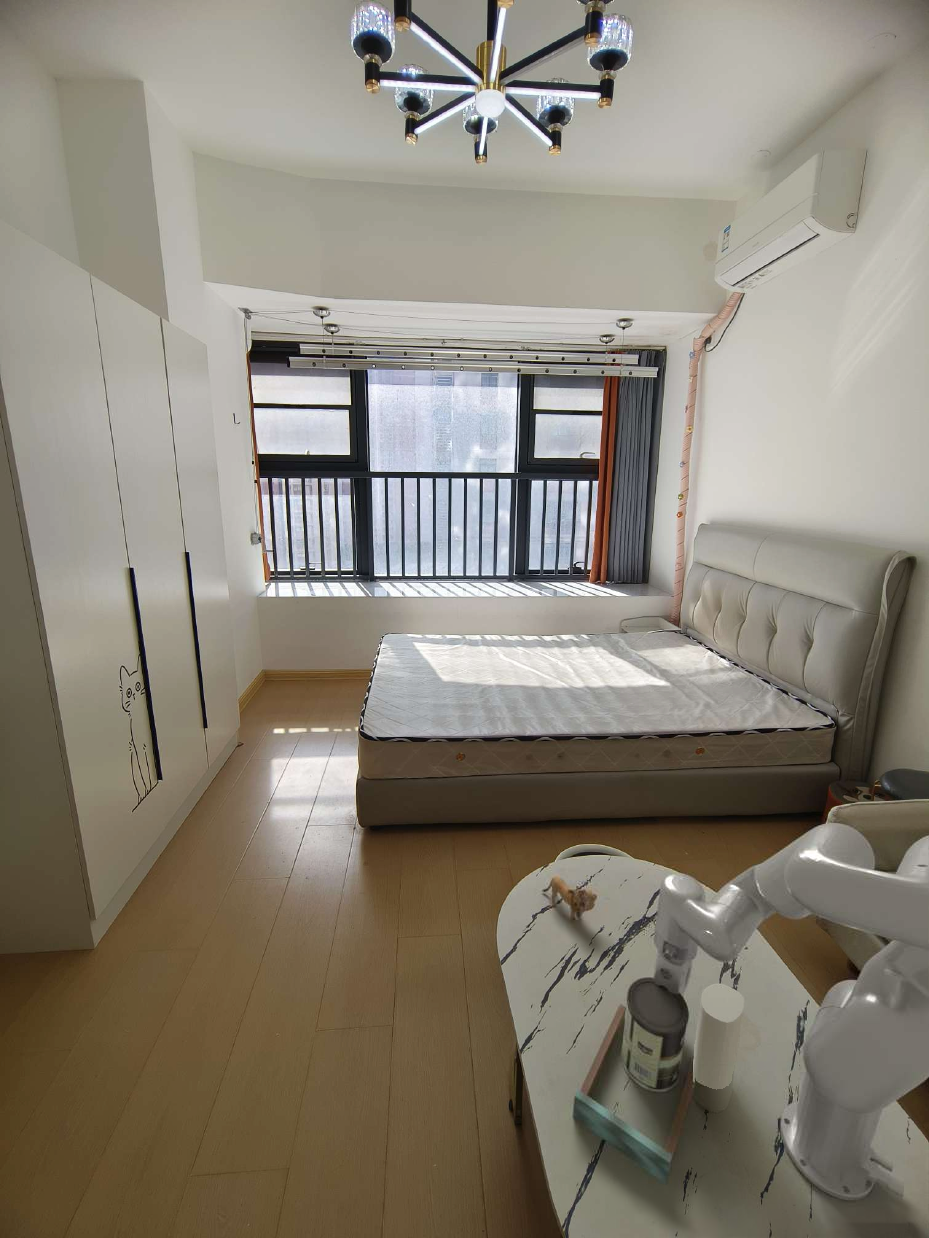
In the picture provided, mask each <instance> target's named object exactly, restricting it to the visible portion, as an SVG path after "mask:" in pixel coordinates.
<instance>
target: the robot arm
mask: <svg viewBox="0 0 929 1238" xmlns="http://www.w3.org/2000/svg"><path fill="white" fill-rule="evenodd" d="M875 865H876V859H875V854H874V850H873V847H872V845H871V844H870V843H869V841H868V840H867V838H866V837H865V836H864V835H863V834H862V833H861V832H859V831H858V830H857V829H855V828H853V827H852V826H849V825H847V824H843V823H838V822H829V823H828V822H827V823H823V824H820V825H817V826H815V827H813V828H812V829H810V830H808V831H807V832H806V833H804V834H803V835H801V836H800V837H798V838H796V839H795V840H794V841H792V842H791V843H789V844H788V845H787V846H785V847H784V848H782V849H780V850H779V851H778V852H776V853H775V854H773V855H772V856H771V857H769V858H768V859H766V860H764V861H763V862H762V863H758V864H757V865H754V866H751V867H749V868H747V869H746V870H745V871H743V872H742V873H740V874H739V875H737V876H736V877H734V878H733V879H731V880H730V881H728V882H727V883H725V885H724V886H722V887H721V888H720V889H719V890H718V892H716V894H715V895H714V896H713V897H712V898H711V900H710V901H709V902H706V893H705V889H704V887H703V885H701V883H700V882H699V881H698V880H696V878H694V877H692V876H690V875H688V874H686V873H681V872H671V873H669V874H667V875H665V877H663V879H662V880H661V883H660V887H659V896H658V902H657V911H656V916H655V917H656V918H655V926H654V936H653V943H654V946H655V948H656V949H657V955H656V959H655V963H654V964H655V965H654V972H653V977H652V978H653V981H654V983H655V984H657V985H658V986H660V985H662V986H664V987H666V988H667V989H668V991H669V992H671V993H673V994H679V993H680V994H681V995H682V996H683V997H684V995H685V992H686V990H687V988H688V985H689V982H690V979H691V975H692V968H693V960H695V959H696V957H697V954H698V949H699V948H700V949H701V950H702V951H703V952H705V953H706V954H707V955H708V956H709V957H710V958H712V959H714V960H716V961H718V962H721V963H730V962H732V961H733V960H735V959H736V958H737V956H738V955H740V953H741V952H742V950H743V948H744V947H745V946H746V945H747V942H748V941H749V939H750V938H751V936H752V935H753V934H754V932H755V931H756V930H757V928H758V927H759V926H760V924H762V922H764V921H765V920H767V919H768V918H770V917H772V916H773V915H775V914H779V915H781V916H783V917H785V918H787V919H790V920H801V919H804V918H805V917H807V916H809V915H811V914H813V915H815V916H816V917H819V918H821V919H825V920H827V921H830V922H833V923H835V924H838V925H841V926H845V927H848V928H850V929H851V928H852V929H855V930H859V931H862V932H865V933H868V934H871V935H875V936H878V937H883V938H886V939H889V940H892V941H890V942H889V943H888V944H887V945H886V946H885V947H884V948H882V949H881V950H880V951H879V952H877V953H876V954H875V955H873V956H872V957H871V958H870V959H868V961H867V962H865V964H864V965H863V968H862V969H861V971H860V973H859V975H858V977H857V980H856V979H847V980H842V981H840V982H838V983H836V984H834V985H833V986H832V987H831V988H830V989H829V990H828V991H827V993H826V995H825V997H824V998H823V1000H822V1002H821V1005H820V1007H819V1009H818V1011H817V1013H816V1015H815V1018H814V1020H813V1022H812V1024H811V1027H810V1029H809V1030H808V1033H807V1035H806V1036H805V1039H804V1042H803V1045H802V1059H803V1061H802V1062H803V1064H804V1068H805V1072H804V1077H803V1082H802V1085H801V1088H800V1091H799V1097H798V1100H797V1101H794V1102H791V1103H790V1104H788V1105H787V1106H786V1107H785V1108H784V1110H783V1112H782V1114H781V1118H780V1123H779V1125H780V1135H781V1140H782V1144H783V1145H784V1148H785V1150H786V1151H787V1155H789V1158H790V1159H791V1161H792V1162H793V1163H794V1165H795V1166H796V1168H797V1169H798V1170H799V1171H800V1173H801V1174H802V1175H804V1177H805V1178H806V1179H808V1180H809V1181H810V1182H811V1183H812V1184H813V1185H815V1186H816V1187H817V1188H818V1189H820V1190H821V1191H823V1192H825V1193H826V1194H828V1195H831V1196H832V1197H835V1198H836V1199H840V1200H845V1201H850V1202H851V1201H859V1200H862V1199H865V1198H866V1197H867V1196H868V1195H869V1194H870V1193H871V1191H872V1189H873V1187H874V1185H876V1183H877V1184H879V1185H881V1186H882V1187H884V1188H886V1190H888V1191H889V1192H891V1193H893V1194H895V1195H896V1196H898V1197H899V1198H900V1199H902V1198H903V1197H904V1194H905V1193H904V1191H905V1184H904V1182H903V1181H902V1180H900V1179H899V1178H897V1177H895V1176H894V1175H892V1174H890V1173H888V1172H891V1173H892V1172H893V1167H894V1164H893V1163H894V1162H893V1161H892V1160H890V1159H889V1158H887V1157H886V1156H883V1155H881V1154H879V1153H878V1152H876V1151H875V1149H874V1148H873V1147H872V1146H871V1145H872V1143H873V1140H874V1137H875V1134H876V1130H877V1126H878V1124H879V1121H880V1118H881V1114H882V1112H883V1109H885V1108H886V1107H889V1106H890V1105H891V1104H893V1103H895V1102H896V1101H898V1100H899V1099H900V1098H902V1097H903V1096H905V1095H906V1094H907V1093H909V1092H911V1091H912V1090H914V1089H915V1088H917V1087H919V1085H921V1084H923V1083H924V1082H925V1081H926V1080H927V1079H928V1078H929V835H926V836H924V837H922V838H920V839H918V840H917V841H915V842H914V843H913V844H912V845H911V846H910V847H909V848H908V849H907V851H906V852H905V854H904V856H903V858H902V860H901V862H900V863H899V865H898V868H897V870H896V872H895V873H889V872H884V871H880V870H875ZM878 1165H880V1166H881V1168H883V1169H885V1170H886V1171H888V1172H886V1171H883V1169H880V1168H879V1166H878Z"/></svg>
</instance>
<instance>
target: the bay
mask: <svg viewBox="0 0 929 1238" xmlns="http://www.w3.org/2000/svg"><path fill="white" fill-rule="evenodd" d="M626 1008H627V1006H624V1005H623V1004H622V1003H620V1004H619V1005H618V1006H617V1010H616V1012H615V1014H614V1016H613V1018H612V1020H611V1022H610V1025H609V1027H608V1029H607V1032H606V1033H605V1035H604V1038H603V1040H602V1042H601V1044H600V1046H599V1049H598V1051H597V1053H596V1055H595V1057H594V1059H593V1061H592V1063H591V1066H590V1068H589V1070H588V1072H587V1075H586V1076H585V1078H584V1081H583V1084H582V1085H581V1087H580V1089H578V1088H577V1090H576V1091H575V1094H574V1097H573V1098H574V1099H573V1110H572V1117H573V1118H574V1119H576V1120H577V1121H578V1122H580V1123H581V1124H583V1126H586V1127H587V1128H588V1129H589V1130H590V1131H592V1132H593V1133H594V1134H596V1135H598V1137H600V1138H602V1139H603V1140H604V1141H606V1142H607V1143H608V1144H610V1145H611V1147H612V1146H613V1148H615V1149H617V1150H618V1151H619V1152H620V1153H622V1154H624V1156H626V1157H628V1158H629V1159H630V1160H632V1161H633V1162H634V1163H636V1164H637V1165H638V1166H639V1167H641V1168H642V1169H643V1170H645V1171H647V1172H648V1173H649V1174H651V1175H652V1176H653V1177H655V1178H656V1179H657V1180H659V1181H660V1182H662V1184H664V1185H667V1184H668V1181H669V1178H670V1174H671V1170H672V1166H673V1163H674V1159H675V1156H676V1152H677V1150H678V1146H679V1142H680V1138H681V1134H682V1131H683V1128H684V1127H683V1126H684V1124H685V1120H686V1117H687V1113H688V1110H689V1105H690V1103H691V1100H692V1095H693V1093H692V1092H694V1089H693V1085H694V1082H693V1058H692V1059H691V1063H690V1066H689V1070H688V1072H687V1076H686V1079H685V1082H684V1085H683V1089H682V1092H681V1096H680V1099H679V1103H678V1105H677V1106H678V1107H677V1110H676V1114H675V1116H674V1119H673V1122H672V1126H671V1129H670V1132H669V1133H670V1134H669V1137H668V1139H667V1142H666V1146H665V1149H664V1148H663V1147H662V1146H660V1145H659V1144H657V1143H655V1142H654V1141H653V1140H651V1139H650V1138H649V1137H647V1136H645V1134H643V1133H641V1132H640V1131H638V1130H637V1129H635V1128H634V1127H633V1126H631V1125H630V1124H629V1123H628V1122H625V1121H624V1120H623V1119H621V1118H620V1117H618V1116H617V1115H616V1114H614V1113H612V1112H611V1111H610V1110H609V1109H607V1108H606V1107H604V1106H603V1105H601V1104H600V1103H598V1102H597V1101H595V1100H594V1099H593V1098H592V1097H591V1096H592V1094H593V1091H594V1089H595V1088H596V1084H598V1083H597V1082H598V1081H599V1078H600V1076H601V1073H602V1071H603V1069H604V1067H605V1064H606V1062H607V1060H608V1058H609V1055H610V1053H611V1051H612V1048H613V1046H614V1044H615V1041H616V1039H617V1037H618V1036H619V1035H618V1034H619V1032H620V1030H621V1027H622V1026H623V1023H624V1022H625V1017H626Z"/></svg>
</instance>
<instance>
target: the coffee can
mask: <svg viewBox="0 0 929 1238" xmlns="http://www.w3.org/2000/svg"><path fill="white" fill-rule="evenodd" d="M689 1018H690V1011H689V1007H688V1003H687V1002H686V1000H685V997H684V996H682V995H681V994H680V993H679V994H673V993H671V992H669V991H668V989H667V988H666V987H664V986H662V985H660V986H658V985H657V984H655V983H654V981H653V977H651V976H650V977H647V976H646V977H641V978H638V979H636V980H634V981H633V982H632V983H631V984H630V986H629V987H628V989H627V993H626V1011H625V1019H624V1028H623V1029H624V1030H623V1037H622V1046H621V1052H620V1053H621V1054H620V1056H621V1061H622V1065H623V1067H624V1069H625V1071H626V1072H627V1073H626V1074H628V1076H629V1078H631V1080H633V1082H634V1083H636V1084H637V1085H639V1086H640V1087H641V1088H643V1089H645V1090H647V1091H650V1092H654V1093H666V1092H668V1091H670V1090H672V1089H673V1088H674V1087H675V1086H676V1085H677V1084H678V1082H679V1079H680V1074H681V1073H680V1072H681V1064H682V1058H683V1051H684V1043H685V1039H686V1032H687V1026H688V1023H689Z"/></svg>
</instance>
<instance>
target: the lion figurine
mask: <svg viewBox="0 0 929 1238" xmlns="http://www.w3.org/2000/svg"><path fill="white" fill-rule="evenodd" d="M550 889H551V893H552V894H551V906H552V907H554V908H555V907H557V905H558V904H557V902H556V901H555V900H556V899H555V897H556V896H557V895H558V894H559V895H560V897H561V899H562V900H563V902H564V903H565V904H567V906H569V908H570V922H571V923H573V924H575V923H577V918H576V915H577V916H578V915H579V916H578V917H580V916H582V914H584V913H585V912H588V911H591V910H593V909H594V907H595V906H596V905H595V901H597V899H598V895H597V894H596V893H593V891H592V889H590V888H589V887H584V888H582V889H572V888H571V887H570V886H569V885H568V884H567V883H566V881H564V879H563V878H562V877H559V876H553V877H552V879H551V880H550V883H549V885H548V887H547V888H544V889H542V890H541V891H542V892H543V893H546V892H548V891H549V890H550Z"/></svg>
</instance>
